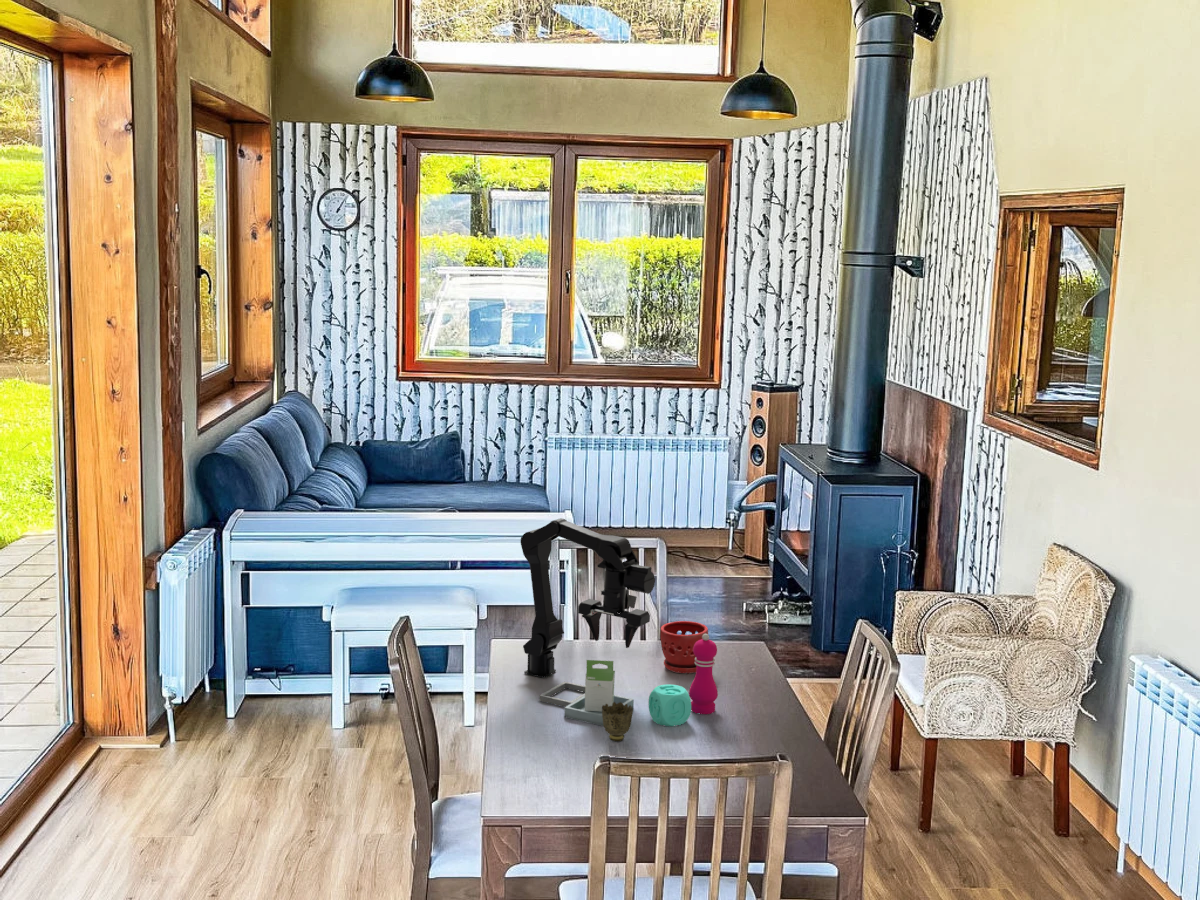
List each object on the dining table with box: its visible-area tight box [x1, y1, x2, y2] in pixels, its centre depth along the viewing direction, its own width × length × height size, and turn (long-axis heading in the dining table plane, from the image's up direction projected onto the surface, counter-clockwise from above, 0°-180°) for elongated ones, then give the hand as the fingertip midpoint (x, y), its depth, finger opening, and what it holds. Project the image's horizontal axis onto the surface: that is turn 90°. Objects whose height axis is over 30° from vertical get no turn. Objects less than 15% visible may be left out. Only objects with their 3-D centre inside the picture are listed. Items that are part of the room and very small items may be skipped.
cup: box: [602, 702, 634, 743], centre depth 301 cm, size 8×7×8 cm
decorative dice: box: [648, 683, 692, 727], centre depth 314 cm, size 8×8×8 cm
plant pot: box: [659, 620, 709, 675], centre depth 352 cm, size 13×13×12 cm
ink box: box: [584, 659, 616, 712], centre depth 317 cm, size 7×4×13 cm, turn 84°
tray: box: [563, 694, 635, 727], centre depth 318 cm, size 12×15×2 cm
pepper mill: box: [688, 633, 719, 715], centre depth 321 cm, size 7×7×20 cm
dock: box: [539, 681, 585, 707], centre depth 328 cm, size 10×13×2 cm
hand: (612, 644), depth 333 cm, fingers open, 9 cm apart
